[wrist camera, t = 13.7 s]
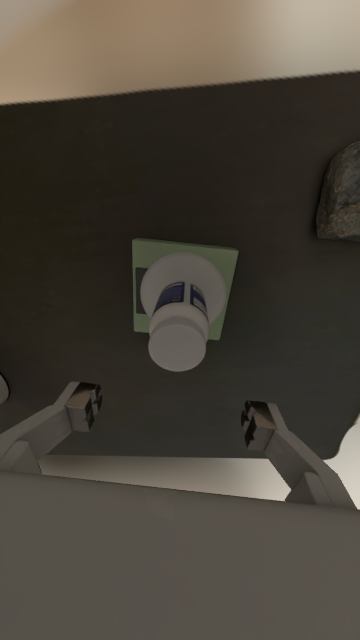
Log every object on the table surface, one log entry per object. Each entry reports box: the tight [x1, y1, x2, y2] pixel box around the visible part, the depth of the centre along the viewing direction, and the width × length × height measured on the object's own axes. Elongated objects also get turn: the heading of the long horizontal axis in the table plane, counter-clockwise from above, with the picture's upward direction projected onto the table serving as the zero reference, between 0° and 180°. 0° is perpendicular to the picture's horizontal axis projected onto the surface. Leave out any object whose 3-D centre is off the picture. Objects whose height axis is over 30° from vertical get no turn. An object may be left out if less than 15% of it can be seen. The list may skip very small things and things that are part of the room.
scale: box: [132, 238, 239, 340], centre depth 26 cm, size 12×12×3 cm
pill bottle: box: [148, 281, 210, 371], centre depth 20 cm, size 6×6×10 cm
